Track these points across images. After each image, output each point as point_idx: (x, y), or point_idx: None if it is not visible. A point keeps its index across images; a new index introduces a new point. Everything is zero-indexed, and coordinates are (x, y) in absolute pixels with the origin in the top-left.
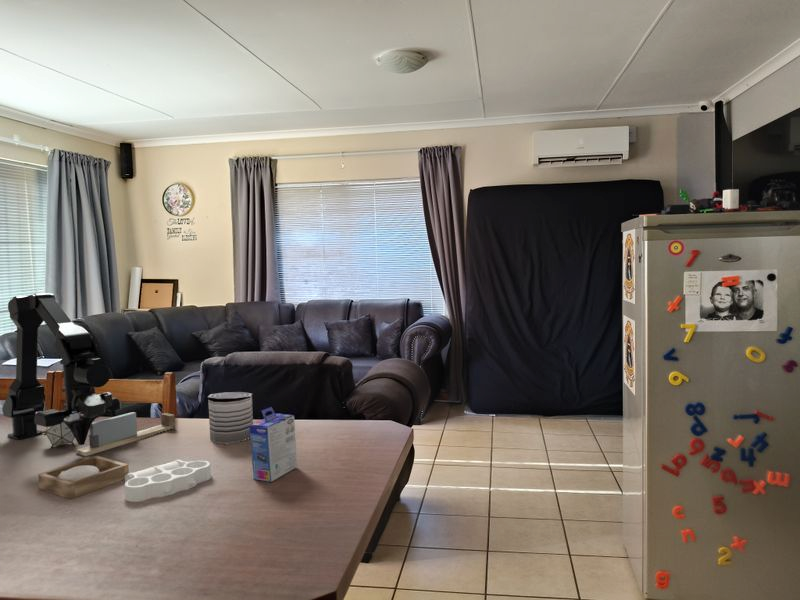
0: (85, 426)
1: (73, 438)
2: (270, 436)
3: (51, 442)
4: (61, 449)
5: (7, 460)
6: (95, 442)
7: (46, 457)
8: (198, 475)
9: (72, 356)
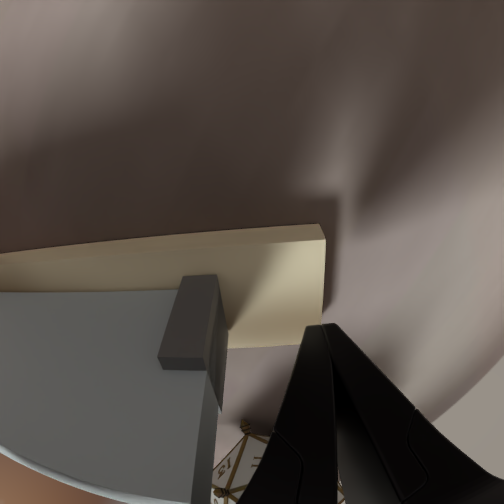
0: (334, 498)
1: (241, 448)
2: None
3: None
4: None
5: (450, 406)
6: (205, 304)
7: (408, 368)
8: None
9: None
